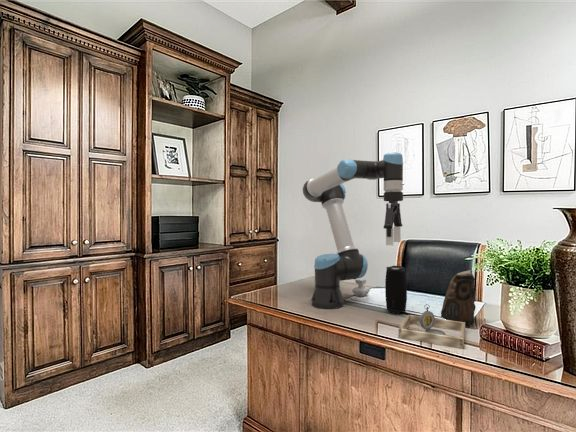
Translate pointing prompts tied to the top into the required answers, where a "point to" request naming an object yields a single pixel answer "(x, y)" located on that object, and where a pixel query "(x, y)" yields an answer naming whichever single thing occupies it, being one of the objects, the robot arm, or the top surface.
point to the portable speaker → (396, 289)
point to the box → (430, 336)
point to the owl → (460, 299)
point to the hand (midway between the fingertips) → (393, 243)
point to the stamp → (360, 288)
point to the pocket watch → (429, 322)
